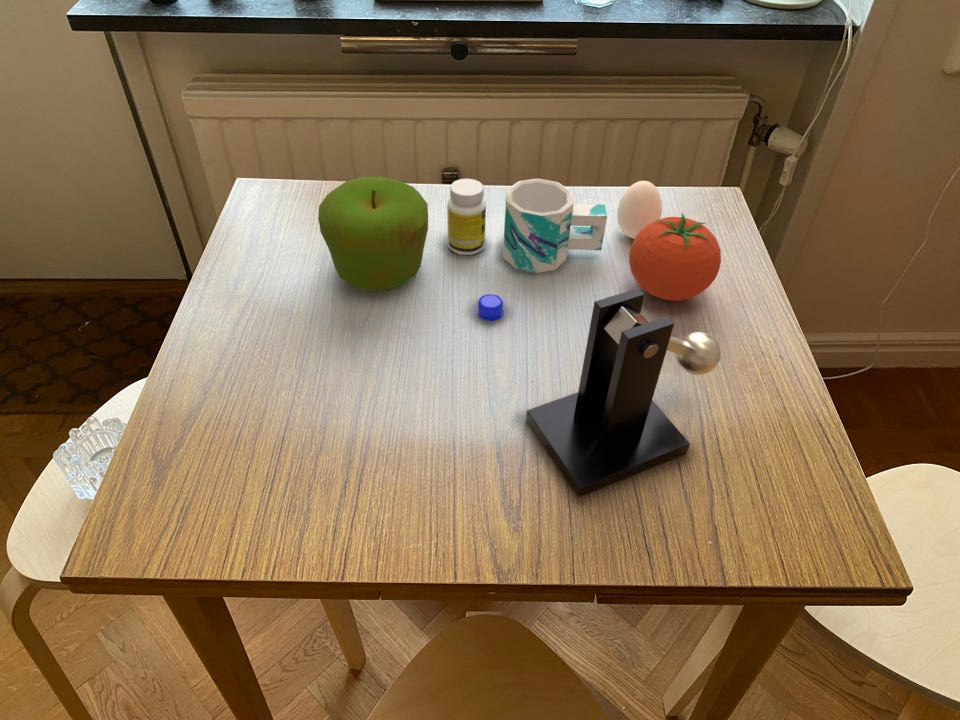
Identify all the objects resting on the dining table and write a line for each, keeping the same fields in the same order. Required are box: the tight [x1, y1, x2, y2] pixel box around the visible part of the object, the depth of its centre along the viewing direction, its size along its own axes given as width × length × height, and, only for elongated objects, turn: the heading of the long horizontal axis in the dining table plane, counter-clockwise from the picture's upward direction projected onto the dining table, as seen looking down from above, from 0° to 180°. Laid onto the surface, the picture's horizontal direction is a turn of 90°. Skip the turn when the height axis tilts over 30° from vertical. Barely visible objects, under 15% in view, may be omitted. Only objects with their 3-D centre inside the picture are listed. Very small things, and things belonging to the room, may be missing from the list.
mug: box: [502, 178, 608, 274], centre depth 86 cm, size 8×12×8 cm
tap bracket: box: [525, 287, 691, 498], centre depth 63 cm, size 12×10×16 cm
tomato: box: [628, 212, 722, 302], centre depth 81 cm, size 10×10×10 cm
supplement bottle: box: [446, 178, 487, 256], centre depth 87 cm, size 5×5×8 cm
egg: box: [616, 180, 663, 240], centre depth 90 cm, size 6×6×8 cm
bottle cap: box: [476, 293, 504, 322], centre depth 80 cm, size 3×3×2 cm
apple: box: [317, 176, 429, 291], centre depth 82 cm, size 12×12×11 cm
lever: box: [604, 307, 722, 376], centre depth 62 cm, size 14×4×4 cm
